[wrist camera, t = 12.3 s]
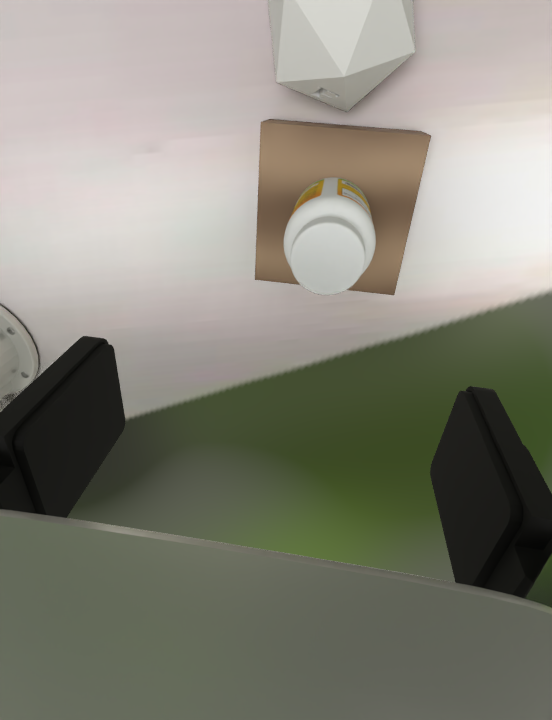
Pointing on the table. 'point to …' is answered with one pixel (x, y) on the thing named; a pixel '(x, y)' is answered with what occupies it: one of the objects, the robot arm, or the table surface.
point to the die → (339, 45)
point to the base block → (347, 161)
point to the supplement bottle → (330, 236)
